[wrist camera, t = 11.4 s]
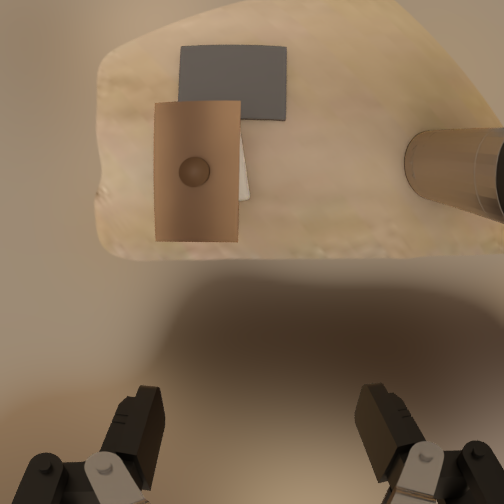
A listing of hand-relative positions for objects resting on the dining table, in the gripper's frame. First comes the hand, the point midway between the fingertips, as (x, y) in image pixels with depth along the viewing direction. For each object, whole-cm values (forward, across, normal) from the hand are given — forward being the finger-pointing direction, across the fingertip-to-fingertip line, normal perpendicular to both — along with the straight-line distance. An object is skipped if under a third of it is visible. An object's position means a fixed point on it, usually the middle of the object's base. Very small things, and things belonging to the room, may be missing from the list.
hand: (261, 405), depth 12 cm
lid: (+16, +4, -8) cm, 18 cm away
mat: (+28, +2, -18) cm, 33 cm away
